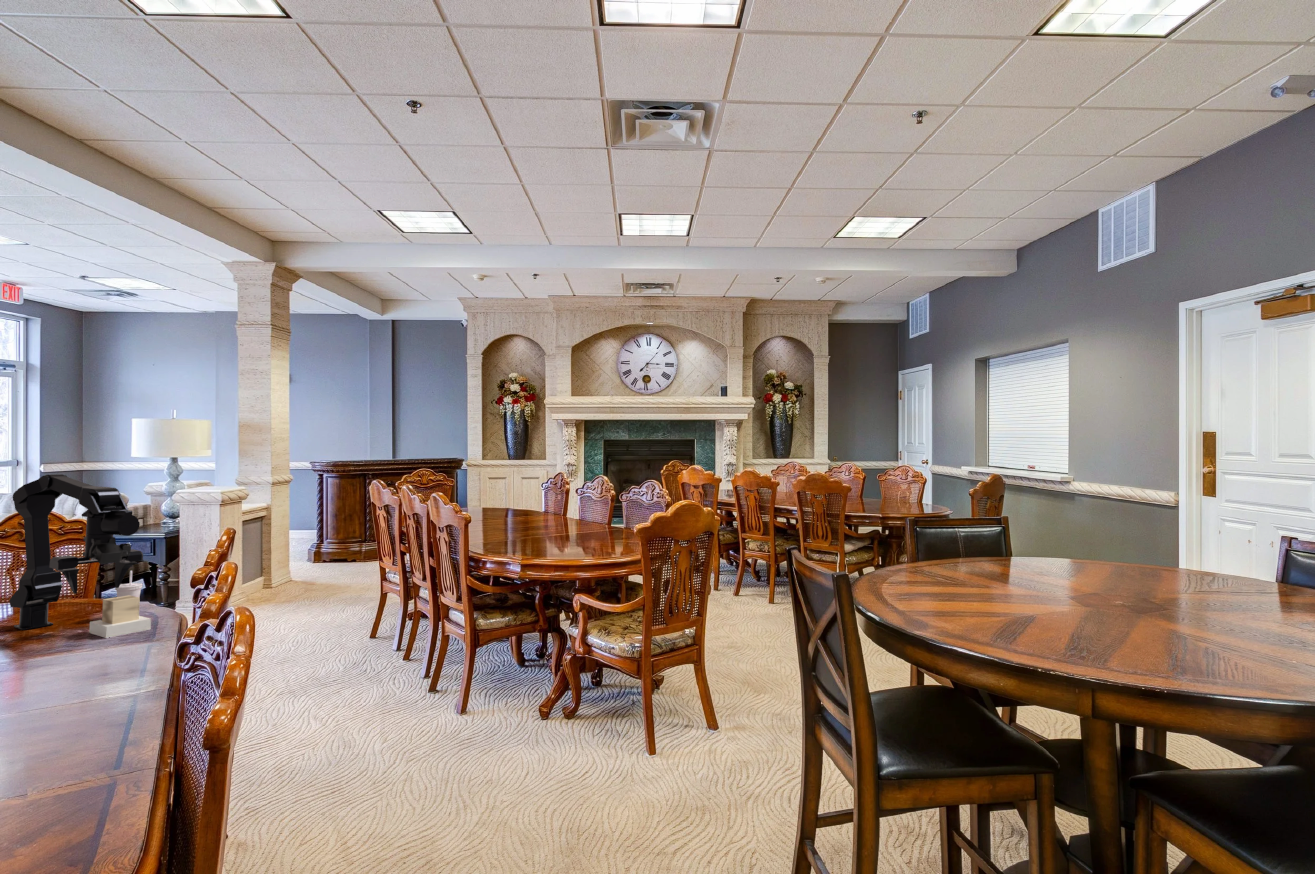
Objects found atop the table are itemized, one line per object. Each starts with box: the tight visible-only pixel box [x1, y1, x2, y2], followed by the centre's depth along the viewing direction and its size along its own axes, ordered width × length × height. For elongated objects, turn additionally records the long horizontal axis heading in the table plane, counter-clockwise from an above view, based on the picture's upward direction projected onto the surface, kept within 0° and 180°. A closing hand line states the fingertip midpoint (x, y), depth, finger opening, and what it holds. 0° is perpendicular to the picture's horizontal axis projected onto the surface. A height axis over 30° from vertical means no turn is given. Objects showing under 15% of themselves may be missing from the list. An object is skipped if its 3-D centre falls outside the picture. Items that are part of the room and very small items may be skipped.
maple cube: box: [101, 595, 141, 624], centre depth 175 cm, size 6×6×6 cm
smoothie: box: [114, 570, 143, 598], centre depth 190 cm, size 6×6×14 cm
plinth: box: [89, 615, 152, 639], centre depth 175 cm, size 10×10×3 cm
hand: (96, 590), depth 173 cm, fingers open, 9 cm apart
